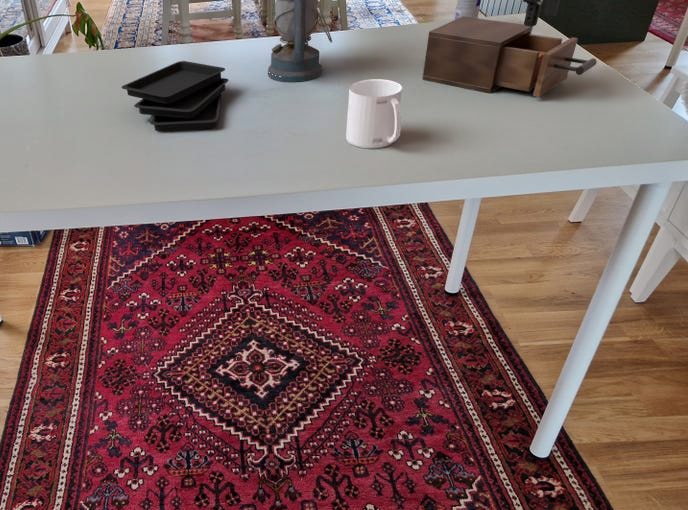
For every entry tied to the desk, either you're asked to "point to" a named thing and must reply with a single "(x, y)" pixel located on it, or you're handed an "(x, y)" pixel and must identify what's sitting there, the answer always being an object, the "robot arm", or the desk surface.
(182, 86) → the tray
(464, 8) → the beverage can
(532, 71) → the drawer
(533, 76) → the block
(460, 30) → the cabinet
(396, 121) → the mug
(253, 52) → the desk surface
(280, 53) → the lantern
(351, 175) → the desk surface
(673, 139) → the desk surface
